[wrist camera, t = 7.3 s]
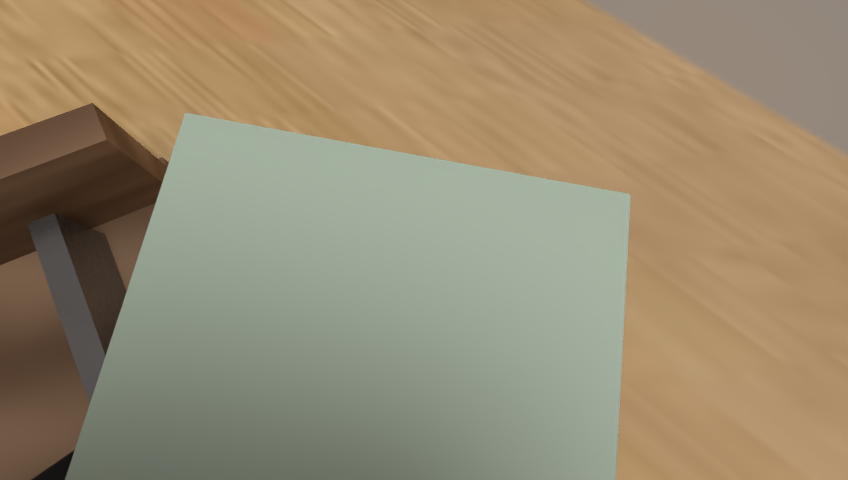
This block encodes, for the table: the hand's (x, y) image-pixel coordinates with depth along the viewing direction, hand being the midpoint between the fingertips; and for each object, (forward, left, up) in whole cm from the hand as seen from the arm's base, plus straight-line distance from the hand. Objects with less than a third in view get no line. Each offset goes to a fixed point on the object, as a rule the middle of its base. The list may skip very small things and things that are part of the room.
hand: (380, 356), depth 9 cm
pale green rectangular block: (-1, -1, -7) cm, 7 cm away
